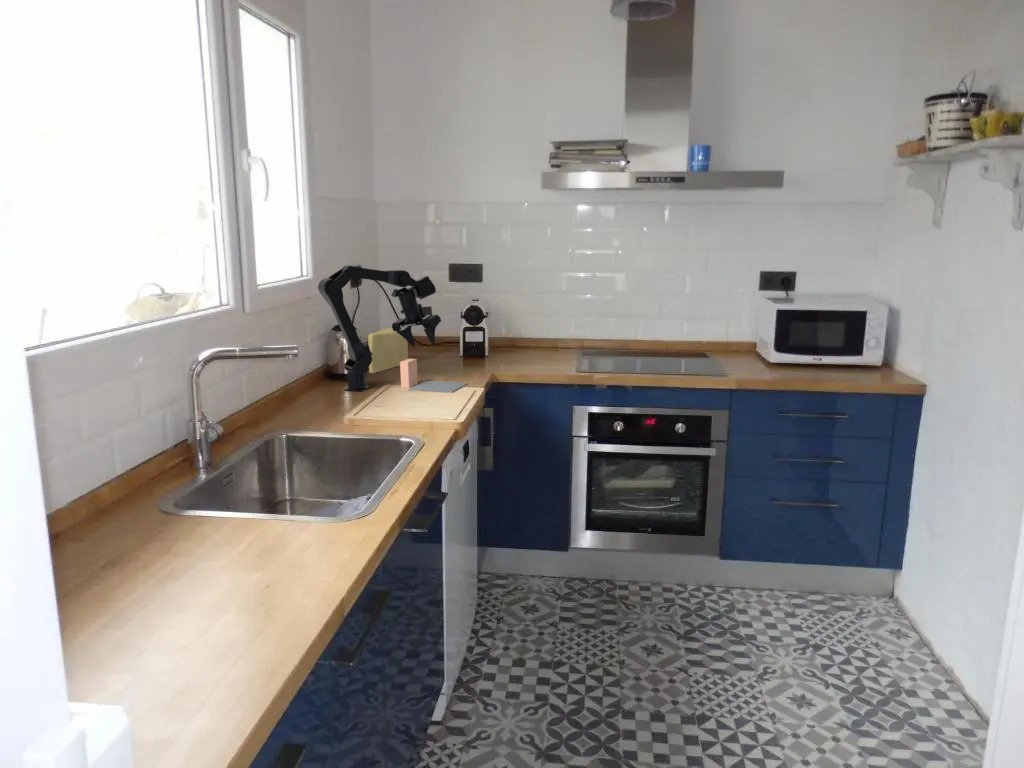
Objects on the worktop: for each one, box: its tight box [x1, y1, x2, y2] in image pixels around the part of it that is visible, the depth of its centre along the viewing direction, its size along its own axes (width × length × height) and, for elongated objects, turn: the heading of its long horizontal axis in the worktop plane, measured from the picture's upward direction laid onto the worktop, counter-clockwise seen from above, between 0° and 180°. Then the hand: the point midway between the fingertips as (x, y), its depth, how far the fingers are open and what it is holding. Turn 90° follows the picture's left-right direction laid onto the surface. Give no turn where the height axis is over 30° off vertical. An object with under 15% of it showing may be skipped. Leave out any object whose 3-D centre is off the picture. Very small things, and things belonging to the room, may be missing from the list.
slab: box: [399, 358, 419, 388], centre depth 263 cm, size 7×3×9 cm, turn 162°
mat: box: [408, 380, 468, 393], centre depth 260 cm, size 14×16×1 cm
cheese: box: [367, 327, 409, 374], centre depth 295 cm, size 22×10×15 cm, turn 160°
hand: (423, 345), depth 269 cm, fingers open, 9 cm apart
